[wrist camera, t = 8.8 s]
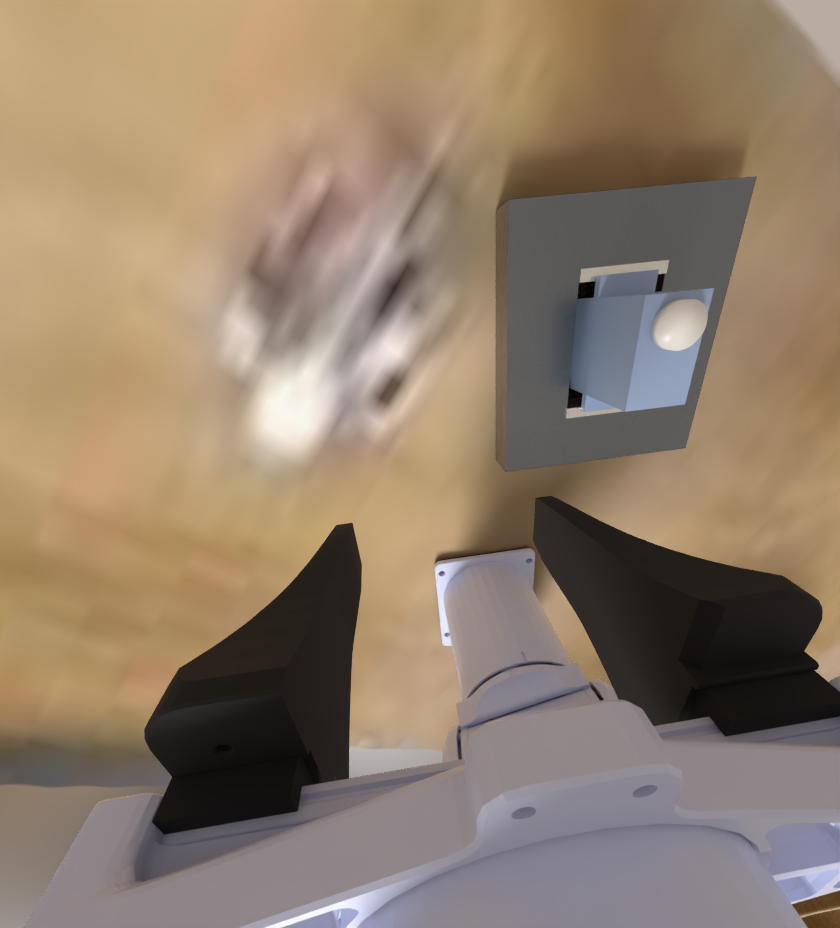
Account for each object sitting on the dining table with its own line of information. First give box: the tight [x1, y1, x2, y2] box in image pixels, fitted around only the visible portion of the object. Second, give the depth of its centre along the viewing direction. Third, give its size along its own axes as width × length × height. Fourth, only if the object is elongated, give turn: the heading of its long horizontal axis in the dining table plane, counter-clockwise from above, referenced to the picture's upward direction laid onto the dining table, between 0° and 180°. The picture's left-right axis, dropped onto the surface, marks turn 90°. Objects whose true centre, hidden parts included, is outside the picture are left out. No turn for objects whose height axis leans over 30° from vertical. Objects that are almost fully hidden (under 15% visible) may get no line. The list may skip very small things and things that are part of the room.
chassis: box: [496, 176, 757, 472], centre depth 19 cm, size 14×12×2 cm
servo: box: [569, 269, 714, 412], centre depth 17 cm, size 7×3×7 cm, turn 5°
